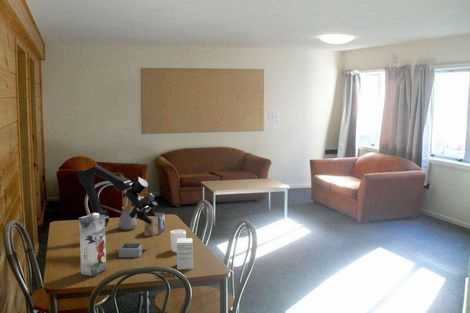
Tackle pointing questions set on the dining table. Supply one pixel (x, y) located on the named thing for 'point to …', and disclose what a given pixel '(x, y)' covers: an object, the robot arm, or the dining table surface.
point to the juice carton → (92, 244)
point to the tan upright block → (151, 226)
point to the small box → (160, 222)
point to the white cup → (174, 236)
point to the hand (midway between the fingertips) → (153, 222)
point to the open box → (130, 249)
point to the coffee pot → (125, 218)
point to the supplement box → (184, 253)
